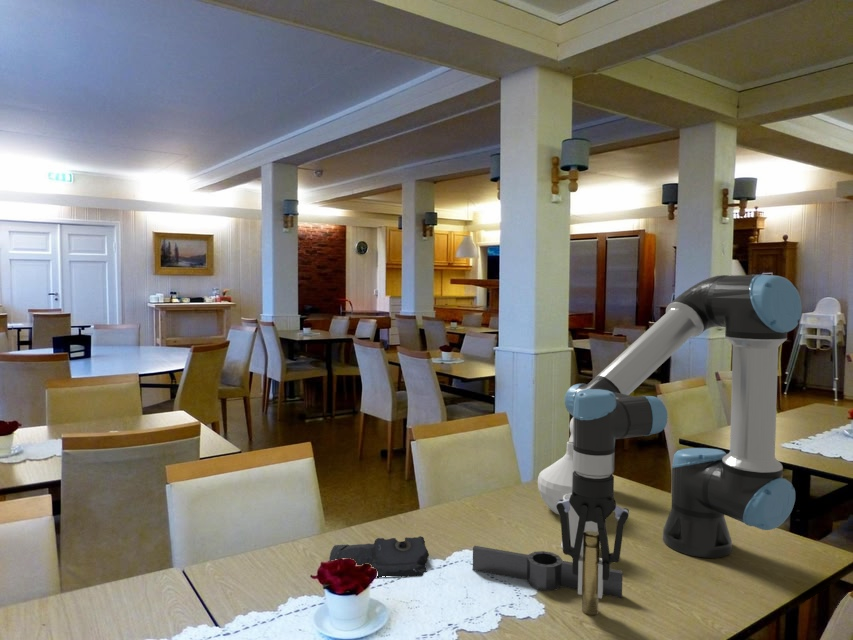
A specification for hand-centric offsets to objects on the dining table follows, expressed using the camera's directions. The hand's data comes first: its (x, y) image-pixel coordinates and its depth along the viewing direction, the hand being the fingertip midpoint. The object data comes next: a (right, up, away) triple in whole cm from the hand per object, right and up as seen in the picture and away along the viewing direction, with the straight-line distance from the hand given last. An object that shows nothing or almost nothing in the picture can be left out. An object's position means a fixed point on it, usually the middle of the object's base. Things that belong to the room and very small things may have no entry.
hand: (590, 592), depth 113 cm
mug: (+6, -2, +26) cm, 27 cm away
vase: (+9, -1, +50) cm, 51 cm away
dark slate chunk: (-42, -3, +20) cm, 47 cm away
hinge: (-7, -3, +11) cm, 13 cm away
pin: (0, -4, 0) cm, 4 cm away
